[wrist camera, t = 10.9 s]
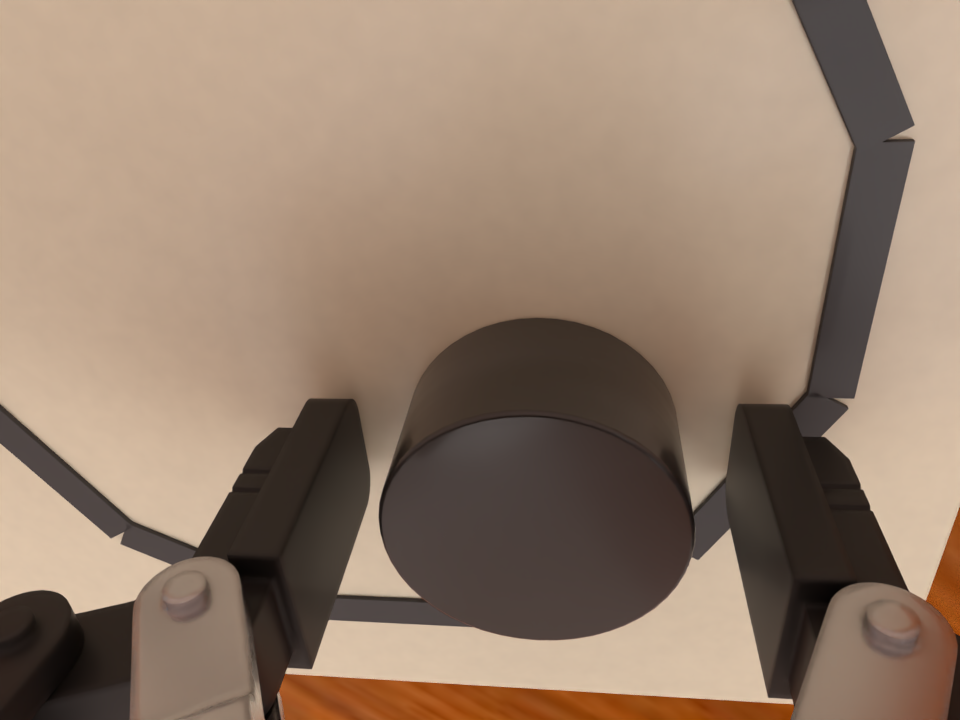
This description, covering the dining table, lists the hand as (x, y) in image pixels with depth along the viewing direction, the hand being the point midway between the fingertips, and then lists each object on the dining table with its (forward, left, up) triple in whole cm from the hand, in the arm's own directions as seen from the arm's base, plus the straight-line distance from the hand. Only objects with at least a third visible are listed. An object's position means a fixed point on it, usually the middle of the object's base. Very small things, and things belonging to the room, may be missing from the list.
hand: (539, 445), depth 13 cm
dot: (0, 0, 0) cm, 0 cm away
